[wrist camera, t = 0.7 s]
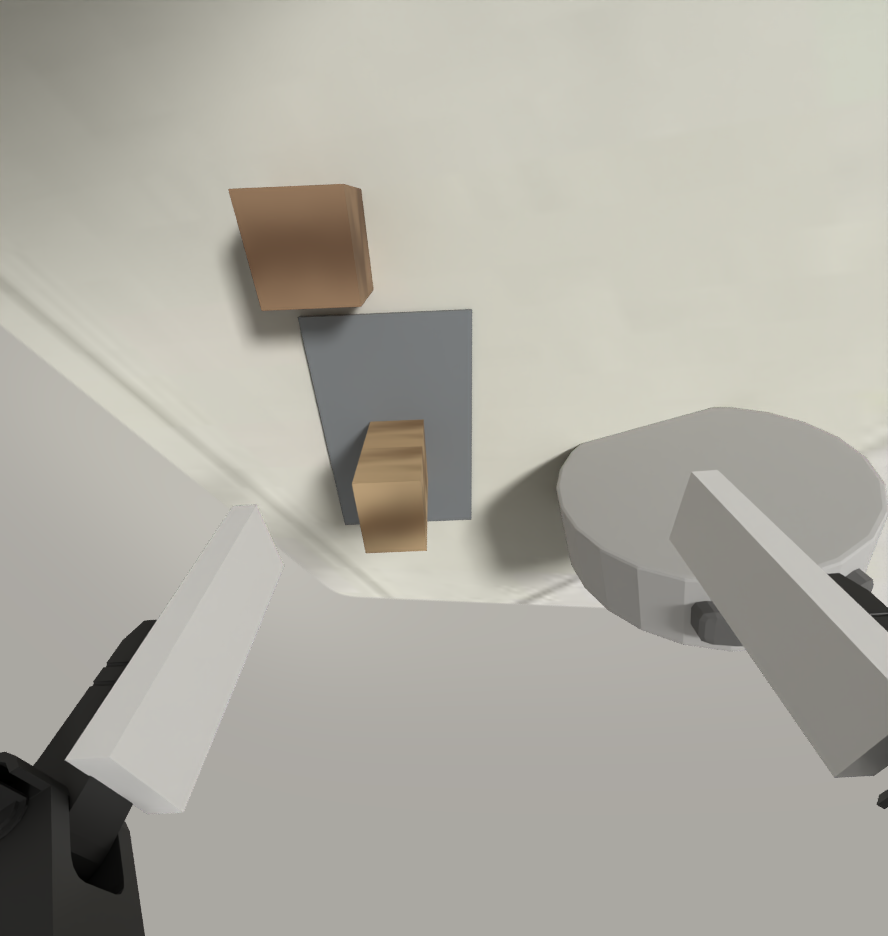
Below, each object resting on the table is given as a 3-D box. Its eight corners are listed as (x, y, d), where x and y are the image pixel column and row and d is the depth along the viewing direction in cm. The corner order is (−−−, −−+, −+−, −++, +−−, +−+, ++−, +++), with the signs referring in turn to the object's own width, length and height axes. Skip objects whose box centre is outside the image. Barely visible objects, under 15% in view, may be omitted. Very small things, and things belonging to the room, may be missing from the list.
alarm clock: (549, 509, 44) (620, 692, 27) (537, 455, 40) (612, 630, 23) (754, 457, 41) (975, 628, 24) (763, 393, 37) (1034, 544, 20)
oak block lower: (370, 421, 37) (362, 448, 33) (423, 419, 37) (422, 446, 33) (379, 482, 41) (373, 513, 37) (427, 480, 41) (427, 511, 37)
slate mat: (299, 316, 32) (298, 317, 32) (471, 309, 32) (471, 310, 32) (345, 522, 44) (345, 524, 44) (471, 517, 44) (471, 519, 44)
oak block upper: (362, 448, 33) (351, 483, 29) (422, 446, 33) (420, 480, 29) (373, 513, 37) (365, 553, 32) (427, 511, 37) (426, 550, 32)
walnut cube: (268, 193, 28) (228, 188, 22) (361, 189, 28) (343, 183, 22) (291, 293, 31) (261, 310, 26) (373, 289, 31) (361, 306, 26)
